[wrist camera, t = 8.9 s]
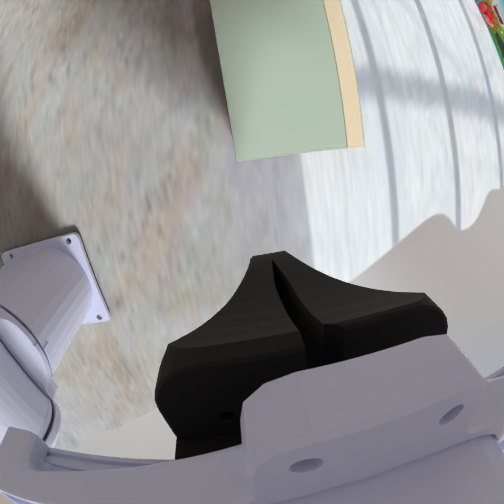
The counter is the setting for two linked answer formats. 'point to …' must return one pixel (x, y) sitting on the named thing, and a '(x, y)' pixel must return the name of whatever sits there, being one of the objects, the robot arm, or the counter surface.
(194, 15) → the counter surface
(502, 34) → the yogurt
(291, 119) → the lid
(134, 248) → the counter surface
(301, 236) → the counter surface
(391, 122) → the counter surface
